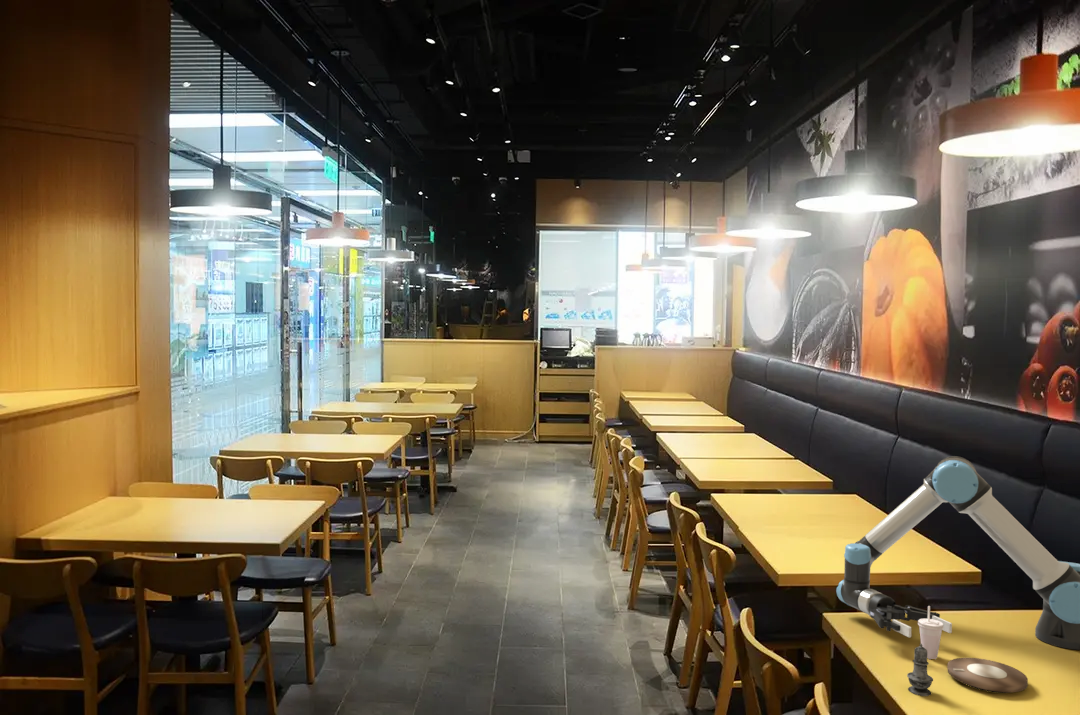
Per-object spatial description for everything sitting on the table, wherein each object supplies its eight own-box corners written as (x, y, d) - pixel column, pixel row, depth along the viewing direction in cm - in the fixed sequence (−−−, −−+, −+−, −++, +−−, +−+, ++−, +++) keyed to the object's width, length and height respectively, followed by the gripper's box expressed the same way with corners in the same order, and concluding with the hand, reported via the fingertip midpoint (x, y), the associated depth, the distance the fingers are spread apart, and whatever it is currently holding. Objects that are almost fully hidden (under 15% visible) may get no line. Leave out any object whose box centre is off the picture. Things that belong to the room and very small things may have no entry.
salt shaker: (935, 697, 196) (937, 649, 196) (910, 695, 197) (911, 646, 197) (929, 687, 202) (930, 640, 202) (904, 685, 203) (905, 638, 203)
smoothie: (920, 650, 226) (921, 601, 226) (945, 656, 222) (946, 606, 222) (914, 657, 221) (915, 606, 221) (939, 663, 217) (941, 612, 217)
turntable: (1004, 664, 215) (1004, 658, 215) (1042, 693, 197) (1042, 687, 197) (935, 661, 216) (935, 655, 216) (967, 690, 198) (967, 684, 198)
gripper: (911, 614, 245) (966, 639, 225) (842, 621, 238) (892, 647, 218) (912, 590, 245) (967, 613, 225) (842, 596, 238) (893, 620, 218)
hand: (930, 630), depth 221 cm, fingers open, 13 cm apart
